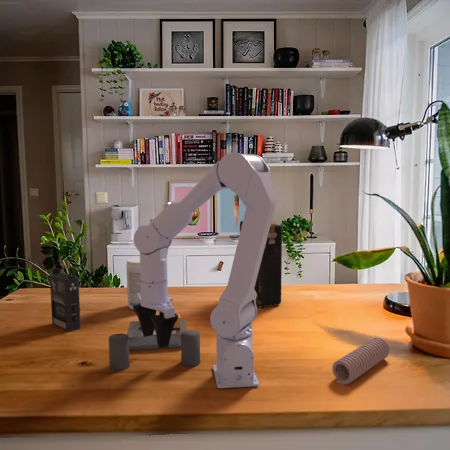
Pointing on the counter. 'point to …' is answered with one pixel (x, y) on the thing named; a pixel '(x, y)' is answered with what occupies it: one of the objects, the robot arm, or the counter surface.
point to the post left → (118, 352)
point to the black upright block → (270, 269)
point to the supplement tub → (133, 281)
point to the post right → (190, 348)
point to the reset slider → (177, 322)
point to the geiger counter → (65, 300)
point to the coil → (360, 360)
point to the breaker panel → (152, 337)
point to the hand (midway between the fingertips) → (155, 341)
